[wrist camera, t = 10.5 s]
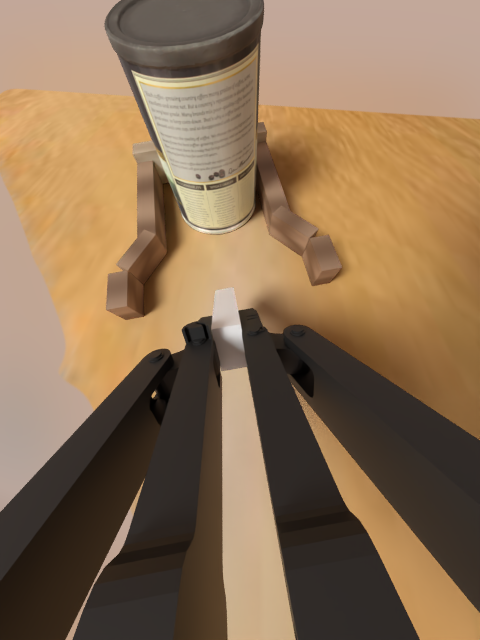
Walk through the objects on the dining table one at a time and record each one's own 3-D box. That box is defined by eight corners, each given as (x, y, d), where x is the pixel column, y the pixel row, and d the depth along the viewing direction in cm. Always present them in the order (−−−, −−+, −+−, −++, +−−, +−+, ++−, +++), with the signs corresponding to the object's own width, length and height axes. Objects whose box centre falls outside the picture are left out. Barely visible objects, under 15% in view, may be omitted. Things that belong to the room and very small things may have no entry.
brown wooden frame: (329, 282, 21) (347, 260, 17) (125, 319, 20) (98, 305, 17) (280, 152, 28) (285, 116, 24) (128, 178, 28) (109, 146, 24)
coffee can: (165, 208, 25) (72, 17, 12) (218, 168, 27) (189, -35, 14) (217, 249, 23) (173, 64, 10) (271, 201, 25) (298, -6, 12)
